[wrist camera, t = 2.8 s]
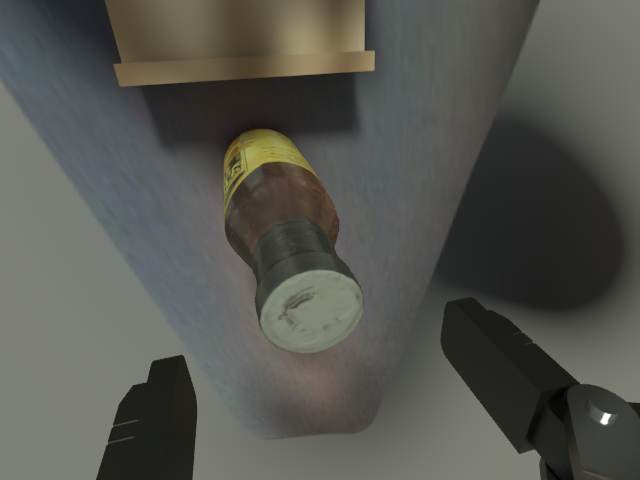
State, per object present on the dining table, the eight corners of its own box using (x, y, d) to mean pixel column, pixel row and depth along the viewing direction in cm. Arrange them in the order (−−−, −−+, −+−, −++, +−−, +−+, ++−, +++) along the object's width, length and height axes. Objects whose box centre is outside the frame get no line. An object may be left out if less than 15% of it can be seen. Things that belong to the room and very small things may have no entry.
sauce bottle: (218, 127, 28) (205, 234, 10) (296, 122, 29) (400, 212, 12) (229, 204, 31) (234, 388, 13) (299, 197, 32) (387, 356, 15)
